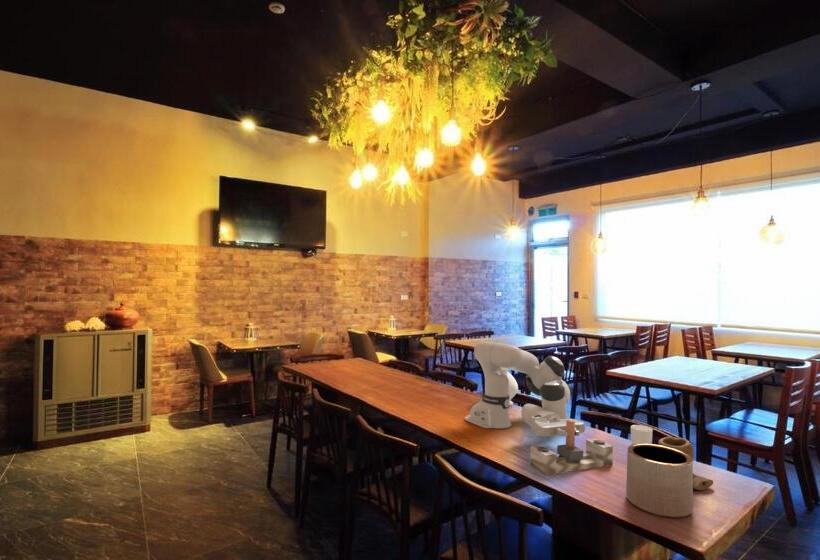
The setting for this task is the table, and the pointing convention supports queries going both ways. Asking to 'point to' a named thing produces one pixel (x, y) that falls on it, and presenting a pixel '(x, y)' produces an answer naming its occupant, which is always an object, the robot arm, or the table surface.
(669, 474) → the planter
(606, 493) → the table surface
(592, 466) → the rail track
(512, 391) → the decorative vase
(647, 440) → the white cup
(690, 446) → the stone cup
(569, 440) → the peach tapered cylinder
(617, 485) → the table surface
